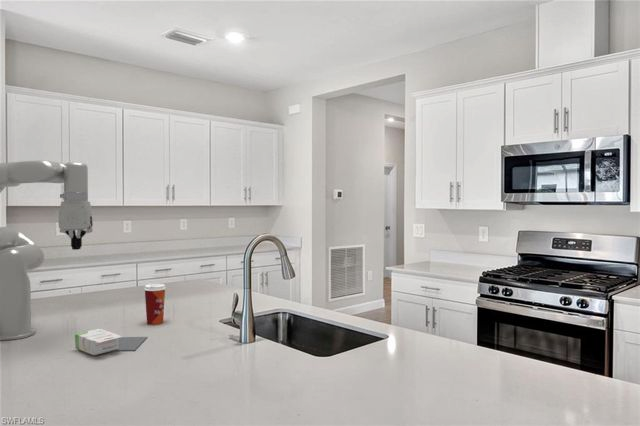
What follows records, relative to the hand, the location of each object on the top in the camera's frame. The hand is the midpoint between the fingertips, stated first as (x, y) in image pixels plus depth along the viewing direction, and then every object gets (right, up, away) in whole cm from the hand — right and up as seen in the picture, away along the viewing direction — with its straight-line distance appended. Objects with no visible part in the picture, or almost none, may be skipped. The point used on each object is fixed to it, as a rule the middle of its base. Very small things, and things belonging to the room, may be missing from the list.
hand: (76, 249), depth 164 cm
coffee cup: (+21, -31, +19) cm, 42 cm away
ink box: (+9, -29, -11) cm, 32 cm away
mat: (+19, -32, -8) cm, 38 cm away
